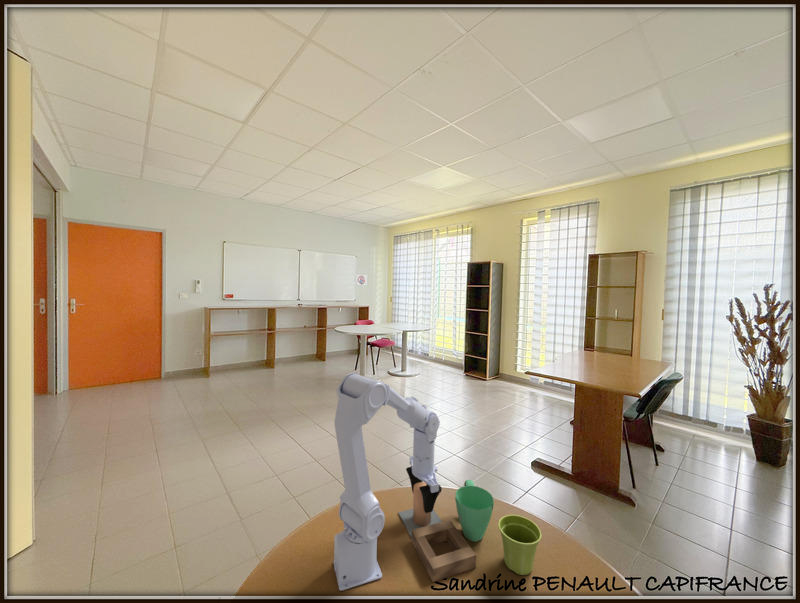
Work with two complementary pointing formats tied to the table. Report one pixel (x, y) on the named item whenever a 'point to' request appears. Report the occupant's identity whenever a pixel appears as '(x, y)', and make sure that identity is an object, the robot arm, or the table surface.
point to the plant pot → (519, 542)
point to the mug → (473, 510)
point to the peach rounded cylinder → (419, 507)
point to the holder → (447, 562)
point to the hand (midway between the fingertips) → (422, 502)
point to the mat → (410, 525)
